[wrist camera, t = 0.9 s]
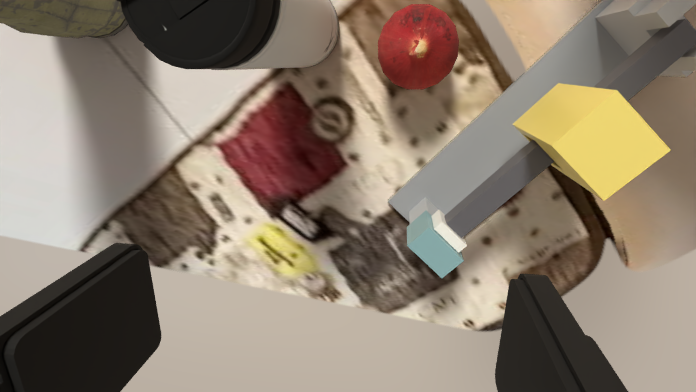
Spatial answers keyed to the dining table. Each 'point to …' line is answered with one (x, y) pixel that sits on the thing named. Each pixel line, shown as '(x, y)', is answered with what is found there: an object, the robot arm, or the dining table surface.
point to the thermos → (64, 17)
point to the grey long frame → (497, 119)
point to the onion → (418, 46)
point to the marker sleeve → (592, 136)
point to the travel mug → (235, 32)
